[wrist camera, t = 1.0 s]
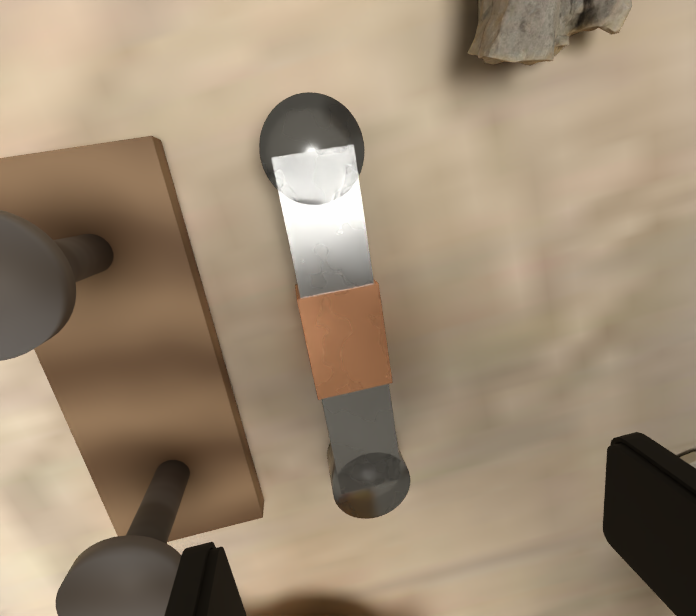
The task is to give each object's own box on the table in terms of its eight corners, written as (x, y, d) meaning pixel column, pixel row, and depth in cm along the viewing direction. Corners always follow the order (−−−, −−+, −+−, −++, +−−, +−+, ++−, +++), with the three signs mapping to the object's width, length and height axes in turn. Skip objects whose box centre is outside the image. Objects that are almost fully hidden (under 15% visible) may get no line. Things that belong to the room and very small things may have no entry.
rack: (263, 500, 27) (254, 650, 18) (133, 533, 26) (55, 708, 17) (160, 140, 20) (60, 94, 11) (-24, 167, 19) (-296, 142, 10)
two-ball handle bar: (398, 471, 29) (415, 509, 25) (333, 487, 28) (340, 529, 25) (344, 102, 21) (356, 84, 18) (253, 116, 21) (247, 99, 17)
